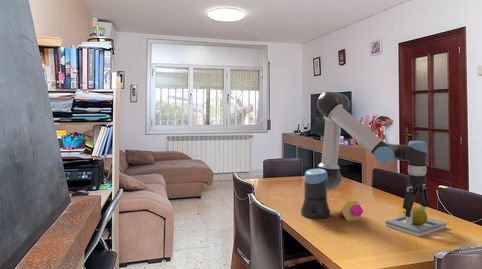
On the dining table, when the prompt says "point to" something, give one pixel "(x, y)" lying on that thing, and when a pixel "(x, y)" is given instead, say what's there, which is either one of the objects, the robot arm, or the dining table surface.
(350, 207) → the toy
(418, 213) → the lemon
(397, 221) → the baseplate
